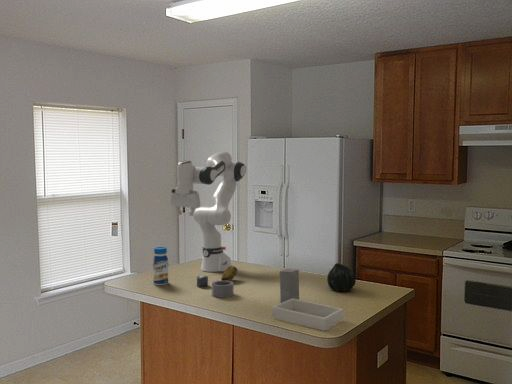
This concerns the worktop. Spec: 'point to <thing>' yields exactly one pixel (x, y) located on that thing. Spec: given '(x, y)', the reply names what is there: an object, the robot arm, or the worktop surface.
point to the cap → (202, 281)
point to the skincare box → (289, 284)
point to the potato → (229, 273)
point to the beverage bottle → (160, 266)
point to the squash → (341, 278)
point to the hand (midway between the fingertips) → (185, 215)
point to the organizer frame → (286, 314)
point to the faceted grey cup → (222, 289)
